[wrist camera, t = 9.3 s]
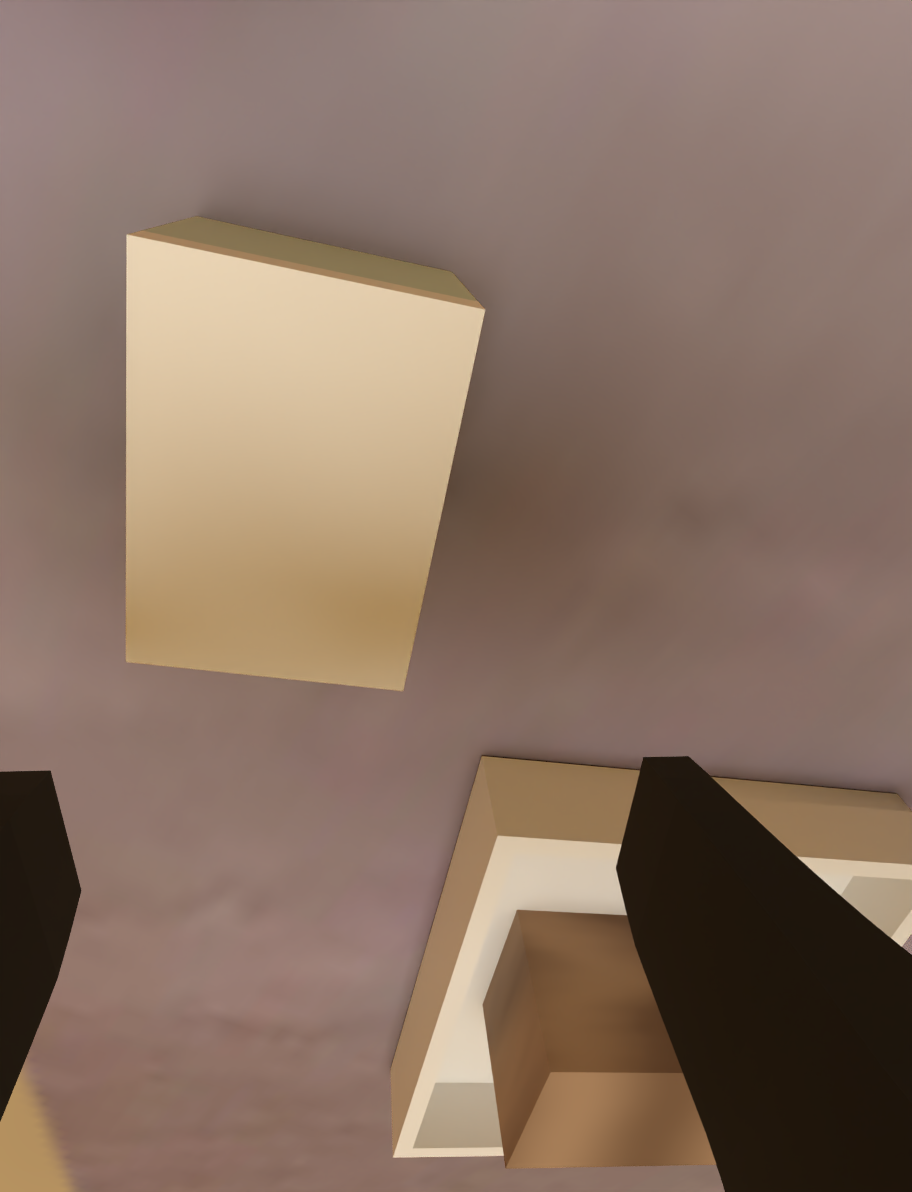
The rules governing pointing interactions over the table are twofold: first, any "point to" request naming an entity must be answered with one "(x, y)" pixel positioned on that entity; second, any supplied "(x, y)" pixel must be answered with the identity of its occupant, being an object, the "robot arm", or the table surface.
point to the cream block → (286, 450)
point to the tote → (587, 911)
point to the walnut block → (584, 1051)
